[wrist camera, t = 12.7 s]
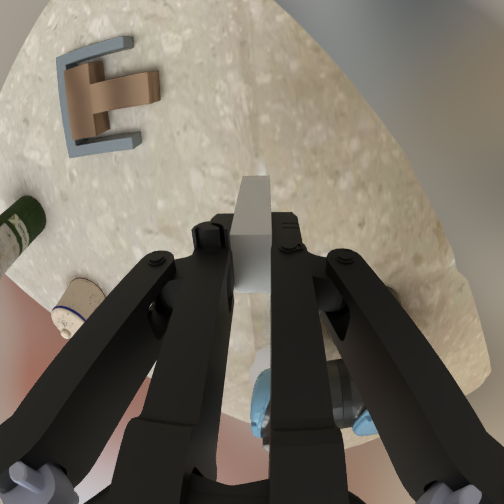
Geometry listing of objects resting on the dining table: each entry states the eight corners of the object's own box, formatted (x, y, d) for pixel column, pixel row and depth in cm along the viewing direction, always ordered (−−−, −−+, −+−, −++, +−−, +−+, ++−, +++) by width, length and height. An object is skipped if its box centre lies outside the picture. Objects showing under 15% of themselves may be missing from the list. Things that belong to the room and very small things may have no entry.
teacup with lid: (64, 289, 53) (40, 329, 44) (78, 269, 50) (51, 311, 40) (107, 322, 58) (88, 364, 49) (125, 305, 54) (105, 351, 45)
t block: (157, 49, 29) (146, 48, 25) (162, 121, 34) (151, 127, 31) (79, 68, 29) (63, 70, 26) (87, 132, 35) (72, 140, 32)
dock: (132, 37, 27) (123, 35, 25) (141, 142, 36) (133, 149, 34) (68, 56, 28) (56, 57, 25) (80, 151, 36) (69, 158, 34)
